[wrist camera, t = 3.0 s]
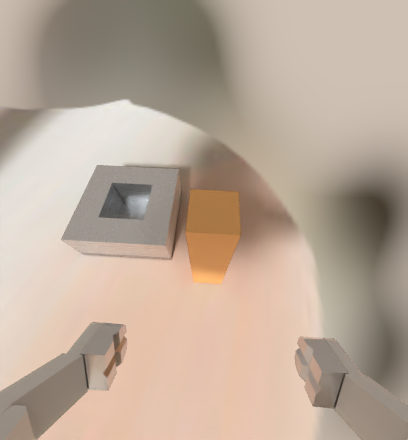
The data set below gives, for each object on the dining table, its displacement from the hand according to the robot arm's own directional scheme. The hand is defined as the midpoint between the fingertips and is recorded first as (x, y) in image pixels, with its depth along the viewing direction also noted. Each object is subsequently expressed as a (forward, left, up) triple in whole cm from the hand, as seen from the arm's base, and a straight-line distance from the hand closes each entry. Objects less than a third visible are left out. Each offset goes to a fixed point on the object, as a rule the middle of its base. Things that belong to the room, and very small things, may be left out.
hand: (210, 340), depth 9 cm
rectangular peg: (0, +7, -14) cm, 16 cm away
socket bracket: (-11, +14, -14) cm, 23 cm away
